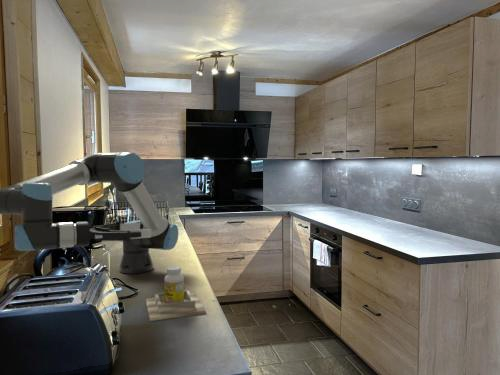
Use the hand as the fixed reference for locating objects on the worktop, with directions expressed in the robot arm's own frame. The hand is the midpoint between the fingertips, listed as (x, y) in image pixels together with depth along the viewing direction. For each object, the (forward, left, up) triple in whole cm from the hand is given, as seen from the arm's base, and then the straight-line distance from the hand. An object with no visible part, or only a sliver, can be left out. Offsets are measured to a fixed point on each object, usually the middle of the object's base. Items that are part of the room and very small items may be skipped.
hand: (145, 229), depth 125 cm
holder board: (-1, +9, -28) cm, 29 cm away
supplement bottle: (-1, +9, -27) cm, 29 cm away
